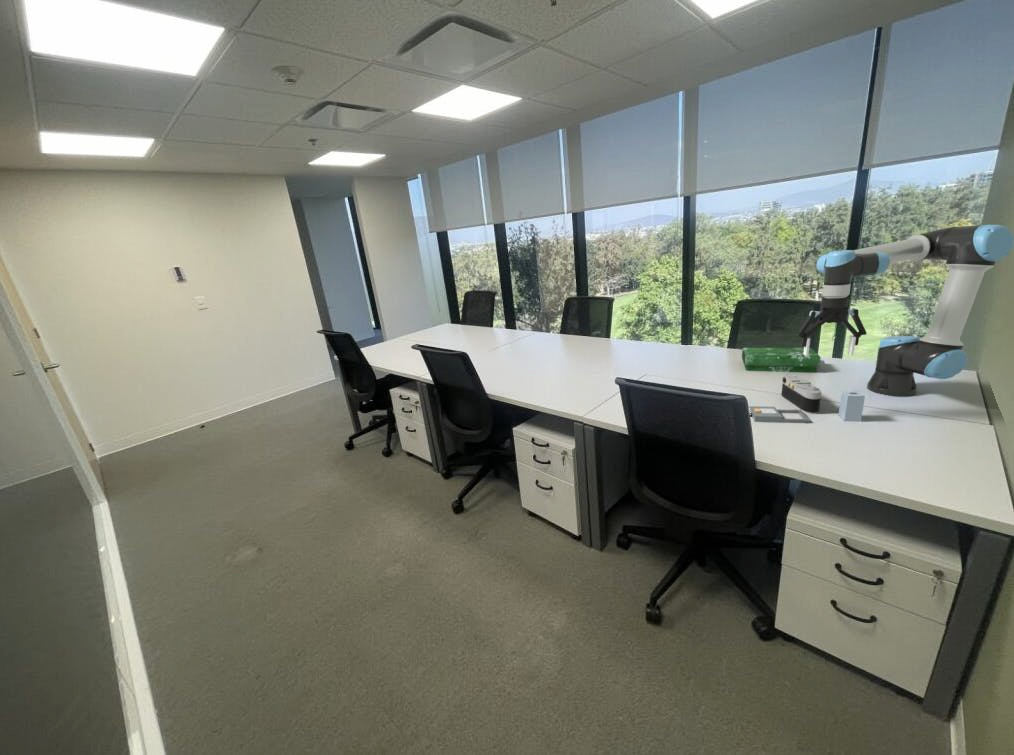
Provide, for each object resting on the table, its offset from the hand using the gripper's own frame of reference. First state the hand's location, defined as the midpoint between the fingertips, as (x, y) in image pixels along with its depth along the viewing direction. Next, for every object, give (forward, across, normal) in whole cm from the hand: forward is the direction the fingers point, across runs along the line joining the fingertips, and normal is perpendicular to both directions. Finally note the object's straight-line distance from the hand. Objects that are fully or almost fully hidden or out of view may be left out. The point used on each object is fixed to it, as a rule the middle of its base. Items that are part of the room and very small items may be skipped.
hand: (827, 354), depth 149 cm
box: (+25, 0, -59) cm, 64 cm away
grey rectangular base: (+24, +15, +3) cm, 29 cm away
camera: (+25, +2, -12) cm, 27 cm away
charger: (+24, -8, +3) cm, 26 cm away
